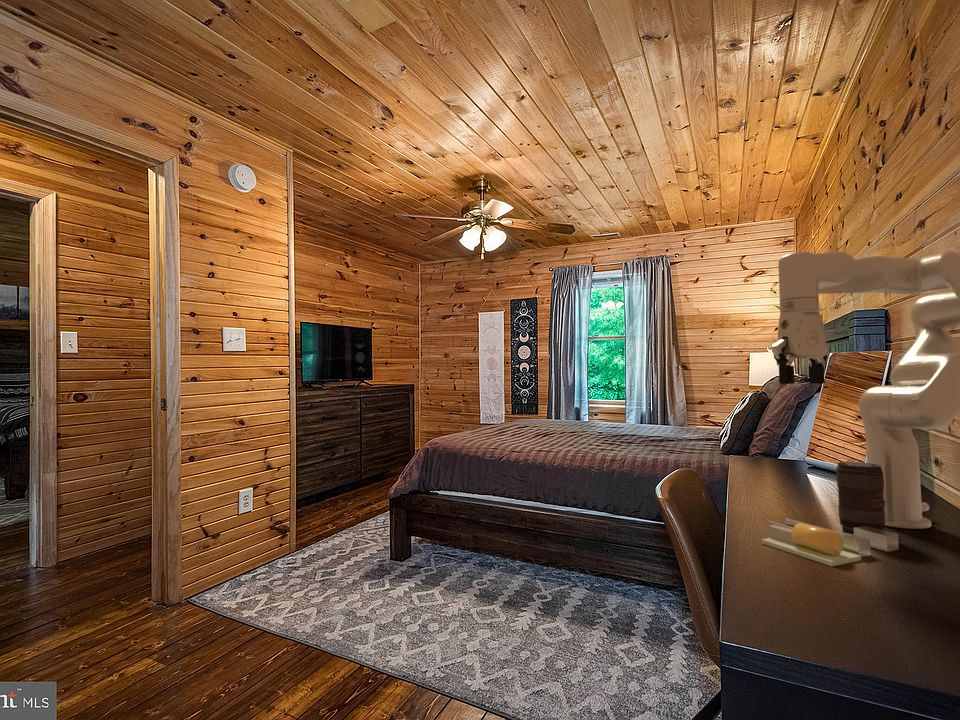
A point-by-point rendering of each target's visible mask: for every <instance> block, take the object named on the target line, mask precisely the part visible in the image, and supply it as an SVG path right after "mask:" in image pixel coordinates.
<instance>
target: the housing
mask: <svg viewBox="0 0 960 720" xmlns="http://www.w3.org/2000/svg"><path fill="white" fill-rule="evenodd" d="M798 523H803V524H806V525H810V526H814V527H818V528H821V529H825V530H829V531H833V532H837V533H839V534H841V536H842V537H843V541H844V547H843V551H846V552H849V553H853V554H856V555H860V556H861V558H864V557H865V558H866V557H869V556H871V555H872V553H871V549H872V548H873V549H876V550H880V551H884V552H887V553H888V552H893V551H897V550H899V549H900V548H899V547H900V546H899V545H900V544H899V533H897V532H892V531H888V530H885V529H884V530H880V529H876V528H872V527H868V526H860V527H855V528H854V535H852V534H849V533H845V532H843V531H840V530H834V529H833V530H832V529H830V528H825V527H821V526H817V525H815V524H814V525H813V524H810V523H807V522H802V521H800V520H794V519H792V518H788V517H787V518H786V517H785V518H784V524H782V523H778V522H776V521H775V522H774V521H771V520H767V527H768V526H771V525H777V526H780V527H784V528H787V529H791V530H793V528H794V526H795V525H796V524H798Z"/></svg>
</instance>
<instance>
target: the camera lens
mask: <svg viewBox="0 0 960 720" xmlns="http://www.w3.org/2000/svg"><path fill="white" fill-rule="evenodd" d="M835 470H836V486H837V492H838V493H837V494H838V517H839V523H840V525H841V528H842V529H841V530H842V532H845V533H849V534H852V535H854V528H855V527H860V526H868V527H872V528H876V529H880V530H884V531H885V525H884V524H885V511H884V506H885V500H884V499H883V491H884V478H883V472H882V469H881V465H878V464H872V463H867V462H859V461H857V462H856V461H855V462H854V461H841V462H837V466H836V469H835Z"/></svg>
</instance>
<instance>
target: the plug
mask: <svg viewBox="0 0 960 720" xmlns="http://www.w3.org/2000/svg"><path fill="white" fill-rule="evenodd" d="M803 523H804V522H803ZM803 523H798V524H796V525H795V526H793V530H791V529H787V528H784V527H780V526H777V525H771V526H768V525H767V527H768V538H775V539H778V540H781V541H784V542H788V543H791V544H794V545H800V546H804V547H807V548H810V549H814V550H817V551H820V552H823V553H827V554H830V555H833V556H838V555H840V554H841V552H842V550H843V547H844V541H843V537H842V536H841V534H839V533H837V532H833V531H829V530H825V529H821V528H818V527H819V526H818V527H814V526H810V525H806V524H803Z"/></svg>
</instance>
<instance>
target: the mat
mask: <svg viewBox="0 0 960 720" xmlns="http://www.w3.org/2000/svg"><path fill="white" fill-rule="evenodd" d="M761 544H762V545H766V546H768V547H771V548H774V549H777V550H780V551H784V552H787V553H789V554H793V555H796V556H798V557H802V558H805V559H808V560H811V561H813V562H817V563H821V564H823V565H826V566H829V567H836V566H842V565H845V564H849V563H850V564H851V563H855V562H860V561H862V557H861V556H860V555H856V554H853V553H849V552H846V551H843V550H842V552H841V554H840V555H838V556H833V555H830V554H827V553H823V552H820V551H817V550H814V549H810V548H807V547H804V546H800V545H794V544H791V543H788V542H784V541H781V540H778V539H775V538H771V537H767V538H762V539H761Z"/></svg>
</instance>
